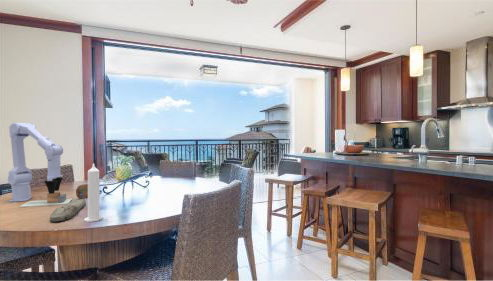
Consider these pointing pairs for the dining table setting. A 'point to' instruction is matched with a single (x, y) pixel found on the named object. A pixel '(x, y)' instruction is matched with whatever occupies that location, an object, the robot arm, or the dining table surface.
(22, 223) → the dining table surface
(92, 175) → the candle
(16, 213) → the dining table surface
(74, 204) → the long grey stone
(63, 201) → the board
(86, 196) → the tin
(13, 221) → the dining table surface
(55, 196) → the block
